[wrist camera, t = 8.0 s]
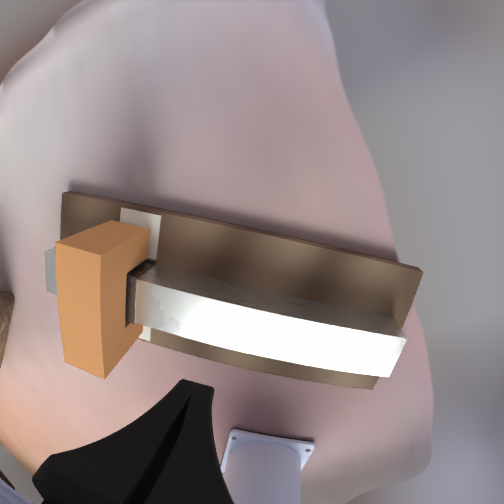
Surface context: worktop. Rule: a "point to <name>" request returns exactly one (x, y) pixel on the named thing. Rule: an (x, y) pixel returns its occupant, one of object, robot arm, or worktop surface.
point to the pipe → (4, 319)
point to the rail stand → (256, 295)
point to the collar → (98, 293)
